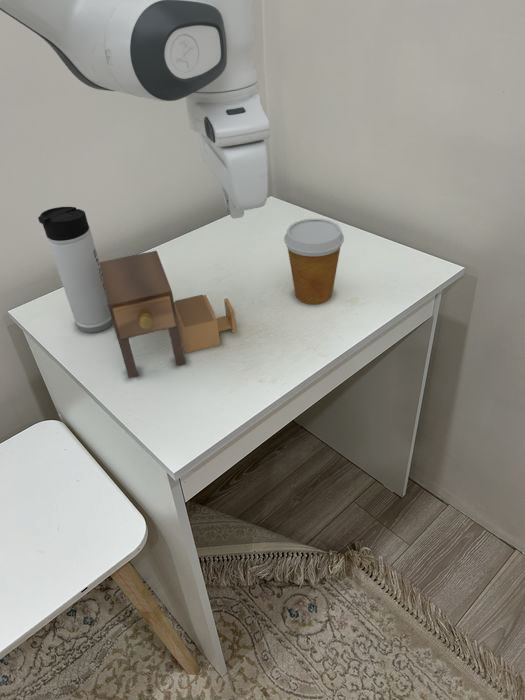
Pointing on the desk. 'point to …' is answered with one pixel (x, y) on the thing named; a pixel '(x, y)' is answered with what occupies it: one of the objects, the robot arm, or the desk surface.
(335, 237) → the disposable coffee cup
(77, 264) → the travel mug
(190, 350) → the wooden drawer
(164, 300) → the drawer unit
